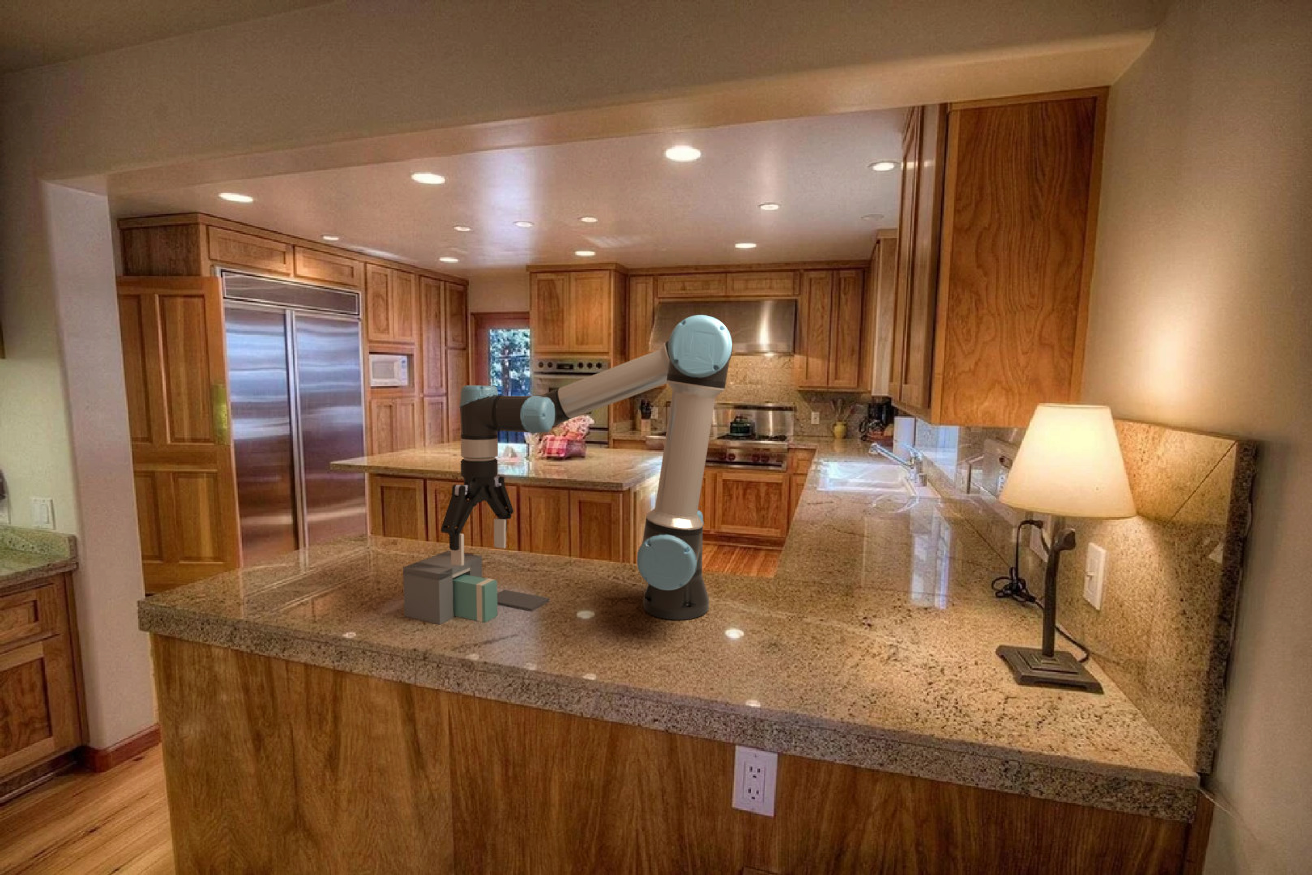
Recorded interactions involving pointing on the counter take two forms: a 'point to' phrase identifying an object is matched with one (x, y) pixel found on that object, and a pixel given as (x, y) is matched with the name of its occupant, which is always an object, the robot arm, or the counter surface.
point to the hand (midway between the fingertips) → (479, 555)
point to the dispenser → (435, 586)
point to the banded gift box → (474, 597)
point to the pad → (520, 600)
